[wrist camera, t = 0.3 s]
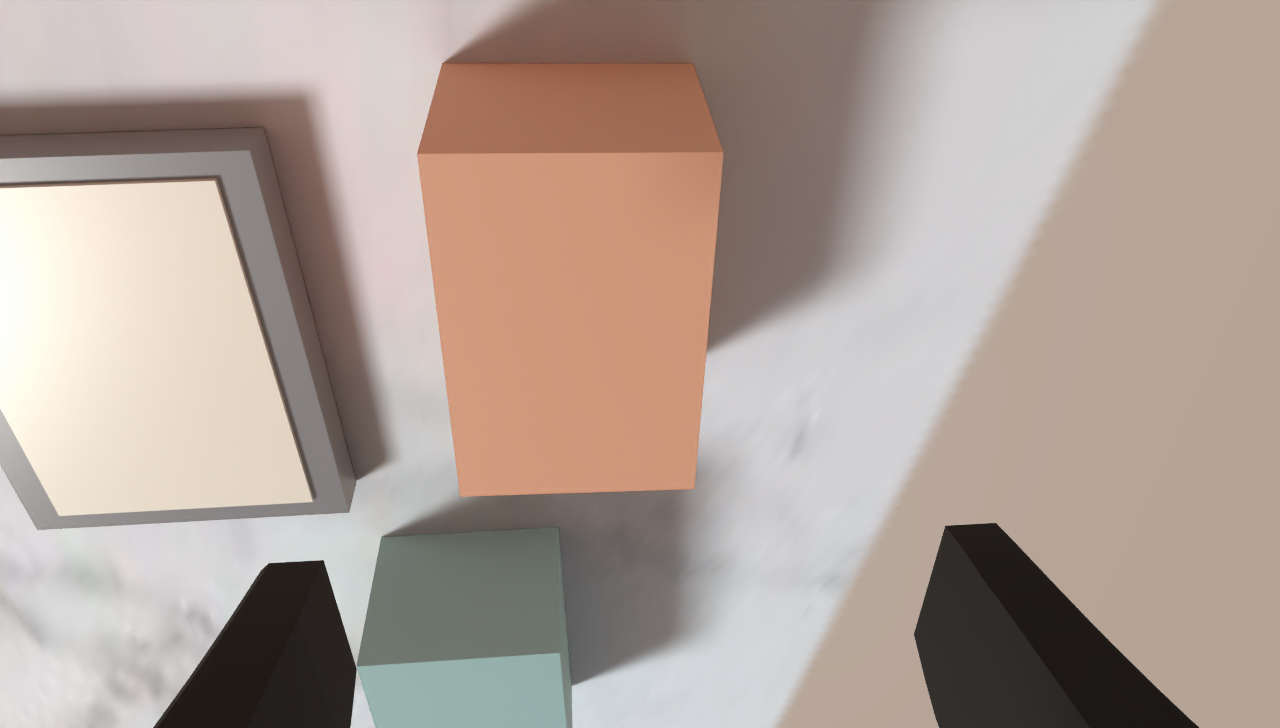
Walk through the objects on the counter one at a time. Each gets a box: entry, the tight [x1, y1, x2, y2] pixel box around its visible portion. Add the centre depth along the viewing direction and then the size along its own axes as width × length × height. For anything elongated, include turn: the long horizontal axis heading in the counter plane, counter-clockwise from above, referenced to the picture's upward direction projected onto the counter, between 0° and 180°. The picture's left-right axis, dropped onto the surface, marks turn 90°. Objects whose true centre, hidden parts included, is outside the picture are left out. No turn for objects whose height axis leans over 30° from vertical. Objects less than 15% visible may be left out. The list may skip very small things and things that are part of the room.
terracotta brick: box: [417, 63, 724, 497], centre depth 17 cm, size 7×4×4 cm, turn 178°
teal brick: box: [357, 527, 572, 728], centre depth 24 cm, size 7×4×4 cm, turn 0°
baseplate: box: [0, 127, 356, 530], centre depth 19 cm, size 9×7×1 cm
